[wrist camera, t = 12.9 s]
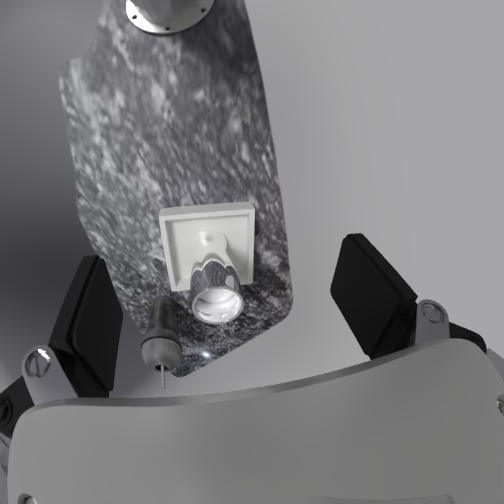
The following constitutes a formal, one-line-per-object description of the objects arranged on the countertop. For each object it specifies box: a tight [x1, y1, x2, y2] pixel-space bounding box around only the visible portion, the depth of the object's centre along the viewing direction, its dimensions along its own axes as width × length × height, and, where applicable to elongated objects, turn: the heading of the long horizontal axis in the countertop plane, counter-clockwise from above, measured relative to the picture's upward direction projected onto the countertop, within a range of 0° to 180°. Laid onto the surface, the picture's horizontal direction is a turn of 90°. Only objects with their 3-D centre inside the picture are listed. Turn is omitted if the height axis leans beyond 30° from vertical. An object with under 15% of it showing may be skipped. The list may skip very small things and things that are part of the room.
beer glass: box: [190, 230, 244, 324], centre depth 40 cm, size 7×7×15 cm
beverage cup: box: [141, 296, 183, 390], centre depth 43 cm, size 7×7×20 cm
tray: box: [159, 202, 255, 291], centre depth 45 cm, size 15×15×3 cm
